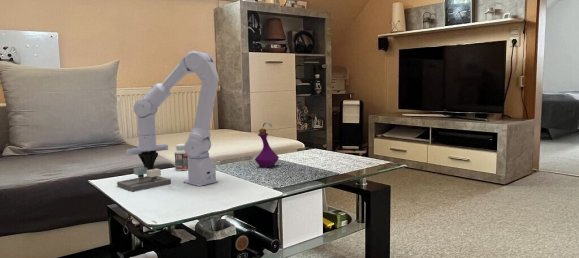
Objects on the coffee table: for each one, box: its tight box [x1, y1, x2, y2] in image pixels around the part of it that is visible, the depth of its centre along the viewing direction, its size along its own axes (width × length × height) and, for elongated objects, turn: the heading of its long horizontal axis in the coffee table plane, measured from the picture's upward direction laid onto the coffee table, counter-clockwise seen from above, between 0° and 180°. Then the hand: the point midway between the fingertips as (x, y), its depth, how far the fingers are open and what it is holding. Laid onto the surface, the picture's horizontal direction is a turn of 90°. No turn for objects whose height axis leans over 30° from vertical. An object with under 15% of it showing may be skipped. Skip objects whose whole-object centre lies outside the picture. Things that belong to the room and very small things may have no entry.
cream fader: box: [146, 168, 162, 180], centre depth 141 cm, size 3×4×3 cm
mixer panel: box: [116, 175, 172, 192], centre depth 141 cm, size 11×14×2 cm
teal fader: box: [133, 166, 147, 178], centre depth 144 cm, size 3×4×3 cm
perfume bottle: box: [254, 121, 280, 169], centre depth 167 cm, size 8×8×18 cm
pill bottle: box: [174, 143, 188, 172], centre depth 165 cm, size 6×6×10 cm
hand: (149, 173), depth 146 cm, fingers closed
